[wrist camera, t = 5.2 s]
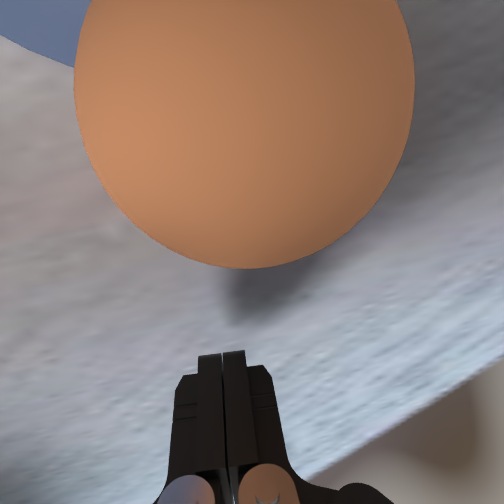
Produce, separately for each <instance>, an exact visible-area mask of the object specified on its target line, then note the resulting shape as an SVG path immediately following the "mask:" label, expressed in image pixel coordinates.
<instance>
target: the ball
mask: <svg viewBox="0 0 504 504" xmlns="http://www.w3.org/2000/svg"><path fill="white" fill-rule="evenodd" d="M414 94H415V68H414V60H413V53H412V46H411V42H410V39H409V35H408V31H407V27H406V24H405V21H404V19H403V16H402V13H401V11H400V8H399V6H398V3H397V1H396V0H91V3H90V5H89V7H88V9H87V12H86V15H85V18H84V21H83V25H82V28H81V31H80V36H79V41H78V47H77V53H76V59H75V65H74V97H75V106H76V114H77V119H78V123H79V127H80V131H81V135H82V139H83V143H84V146H85V149H86V151H87V154H88V156H89V159H90V162H91V164H92V167H93V169H94V171H95V172H96V174H97V176H98V178H99V180H100V181H101V183H102V185H103V187H104V189H105V190H106V191H107V193H108V194H109V195H110V197H111V198H112V200H113V201H114V202H115V204H116V205H117V206H118V208H119V209H120V210H121V211H122V212H123V213H124V214H125V215H126V216H127V217H128V218H129V219H130V220H131V221H132V222H133V223H134V224H135V225H136V226H137V227H138V228H140V229H141V230H142V231H143V232H145V233H146V234H147V235H148V236H150V237H151V238H152V239H154V240H155V241H157V242H159V243H160V244H162V245H163V246H165V247H167V248H168V249H170V250H172V251H174V252H176V253H179V254H181V255H183V256H185V257H187V258H190V259H193V260H196V261H199V262H203V263H206V264H209V265H214V266H220V267H226V268H238V269H255V268H265V267H273V266H277V265H281V264H285V263H290V262H293V261H295V260H298V259H301V258H303V257H306V256H309V255H311V254H314V253H316V252H317V251H319V250H321V249H323V248H325V247H327V246H329V245H330V244H332V243H333V242H335V241H336V240H337V239H339V238H340V237H341V236H343V235H344V234H346V233H347V232H348V231H349V230H350V229H351V228H352V227H353V226H354V225H355V224H356V223H358V222H359V221H360V220H361V219H362V218H363V217H364V216H365V215H366V214H367V213H368V212H369V210H370V209H371V208H372V207H373V205H374V204H375V203H376V202H377V201H378V199H379V198H380V196H381V195H382V193H383V192H384V190H385V188H386V187H387V185H388V184H389V182H390V180H391V178H392V176H393V174H394V172H395V170H396V168H397V166H398V164H399V161H400V159H401V157H402V155H403V152H404V148H405V145H406V142H407V139H408V136H409V131H410V126H411V121H412V116H413V106H414Z"/></svg>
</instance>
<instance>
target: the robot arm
mask: <svg viewBox="0 0 504 504" xmlns="http://www.w3.org/2000/svg"><path fill="white" fill-rule="evenodd" d="M233 496H234V500H233ZM234 501H235V504H394V503H393V502H391V501H390V500H389V499H388V498H386V497H385V496H384V495H383V494H382V493H380V492H379V491H378V490H376V489H375V488H373V487H371V486H369V485H366V484H363V483H351V484H347V485H345V486H343V487H342V488H341V489H340V490H339V491H338V490H333V489H329V488H324V487H320V486H316V485H312V484H310V483H308V482H306V481H304V480H303V479H301V478H300V477H299V476H298V475H297V474H296V473H295V471H294V470H293V469H292V467H291V465H290V463H289V461H288V457H287V453H286V448H285V442H284V437H283V432H282V427H281V422H280V417H279V412H278V407H277V401H276V396H275V391H274V386H273V381H272V377H271V375H270V374H269V373H268V371H267V370H266V368H265V367H264V366H263V365H257V366H250V367H247V365H246V357H245V350H240V351H233V352H225V353H223V361H222V355H221V353H218V354H210V355H202V356H199V357H198V373H197V374H190V375H183V377H182V379H181V380H180V382H179V384H178V386H177V388H176V390H175V399H174V410H173V423H172V432H171V443H170V455H169V466H168V475H167V480H166V484H165V486H164V488H163V490H162V492H161V494H160V495H159V497H158V498H157V499H156V501H155V502H154V503H153V504H234Z"/></svg>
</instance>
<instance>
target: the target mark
mask: <svg viewBox="0 0 504 504" xmlns="http://www.w3.org/2000/svg"><path fill="white" fill-rule="evenodd" d="M90 3H91V0H0V35H2V36H4V37H6V38H7V39H9V40H11V41H13V42H15V43H17V44H19V45H21V46H22V47H24V48H26V49H28V50H31V51H33V52H36V53H38V54H41V55H43V56H46V57H48V58H51V59H53V60H56V61H58V62H60V63H63V64H65V65H68V66H71V67H74V65H75V59H76V53H77V47H78V41H79V36H80V31H81V28H82V25H83V21H84V18H85V15H86V12H87V9H88V7H89V5H90Z"/></svg>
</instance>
